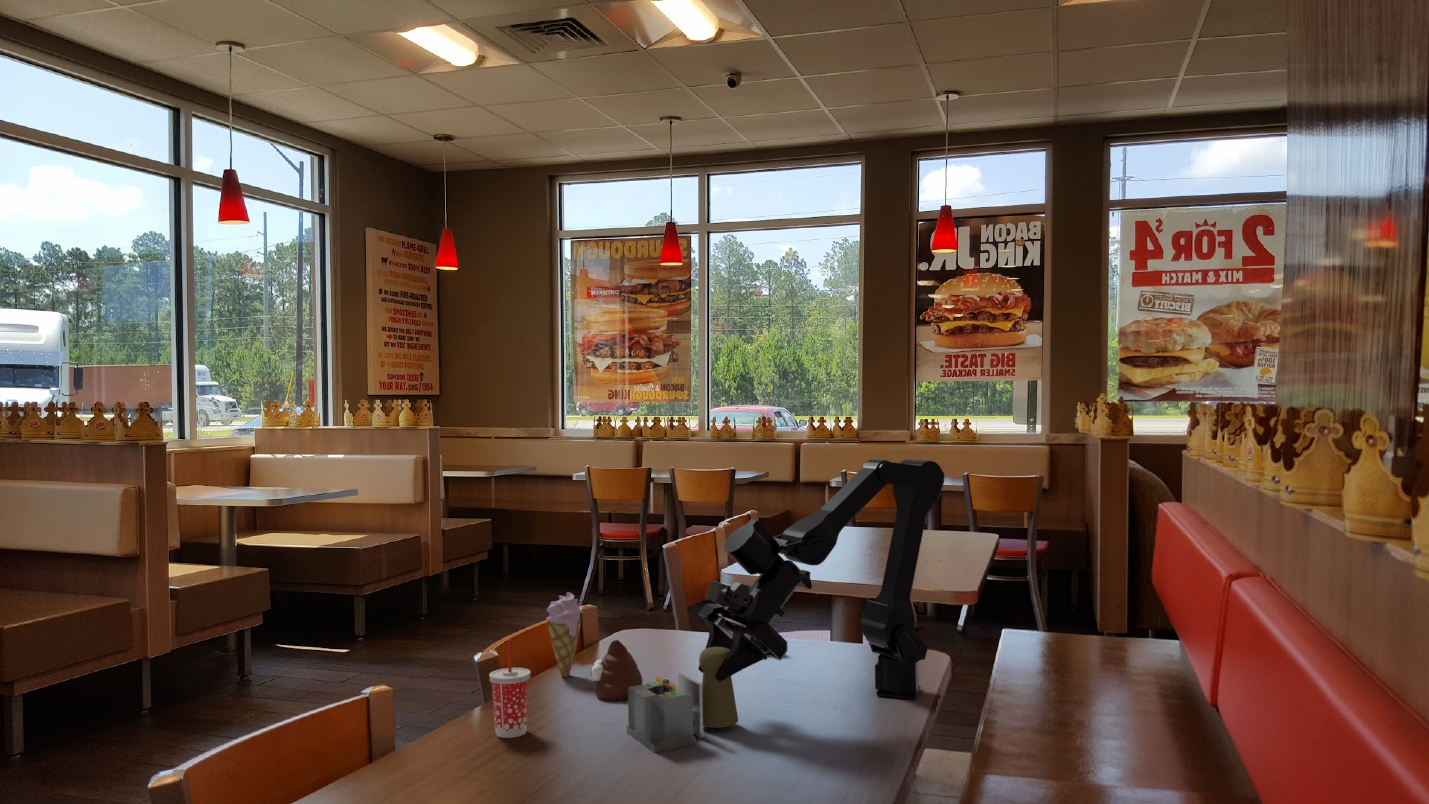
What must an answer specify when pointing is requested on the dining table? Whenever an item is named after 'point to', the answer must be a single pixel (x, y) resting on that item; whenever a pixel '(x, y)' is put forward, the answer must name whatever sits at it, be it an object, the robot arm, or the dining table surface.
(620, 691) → the poop emoji
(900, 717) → the dining table surface
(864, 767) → the dining table surface
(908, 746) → the dining table surface
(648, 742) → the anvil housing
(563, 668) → the ice cream cone
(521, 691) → the beverage cup
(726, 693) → the cork
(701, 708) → the plunger
